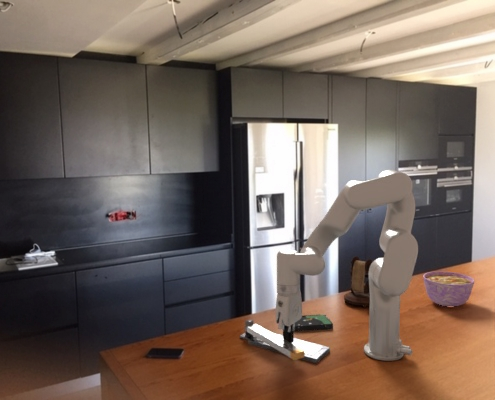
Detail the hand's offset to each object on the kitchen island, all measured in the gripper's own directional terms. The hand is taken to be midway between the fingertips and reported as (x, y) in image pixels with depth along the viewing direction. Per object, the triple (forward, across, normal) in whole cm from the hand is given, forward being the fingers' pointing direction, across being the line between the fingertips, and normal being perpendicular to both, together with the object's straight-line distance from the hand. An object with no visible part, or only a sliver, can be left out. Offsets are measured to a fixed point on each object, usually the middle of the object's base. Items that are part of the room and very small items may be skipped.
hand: (288, 341), depth 155 cm
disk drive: (+4, +25, +5) cm, 26 cm away
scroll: (+4, +59, -2) cm, 59 cm away
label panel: (+4, +3, +5) cm, 7 cm away
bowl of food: (+4, +78, -32) cm, 84 cm away
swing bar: (+3, -2, +5) cm, 6 cm away
